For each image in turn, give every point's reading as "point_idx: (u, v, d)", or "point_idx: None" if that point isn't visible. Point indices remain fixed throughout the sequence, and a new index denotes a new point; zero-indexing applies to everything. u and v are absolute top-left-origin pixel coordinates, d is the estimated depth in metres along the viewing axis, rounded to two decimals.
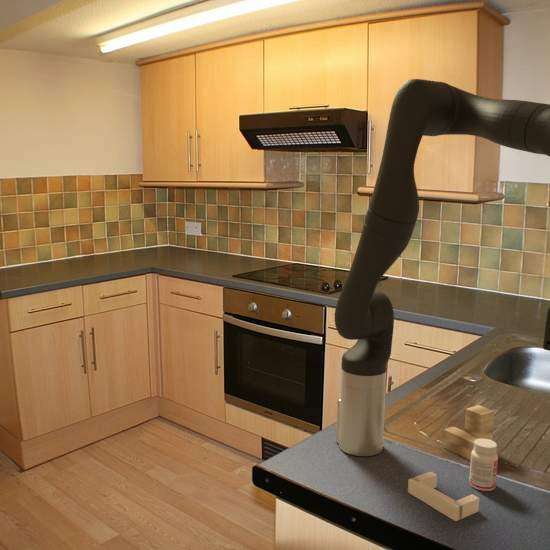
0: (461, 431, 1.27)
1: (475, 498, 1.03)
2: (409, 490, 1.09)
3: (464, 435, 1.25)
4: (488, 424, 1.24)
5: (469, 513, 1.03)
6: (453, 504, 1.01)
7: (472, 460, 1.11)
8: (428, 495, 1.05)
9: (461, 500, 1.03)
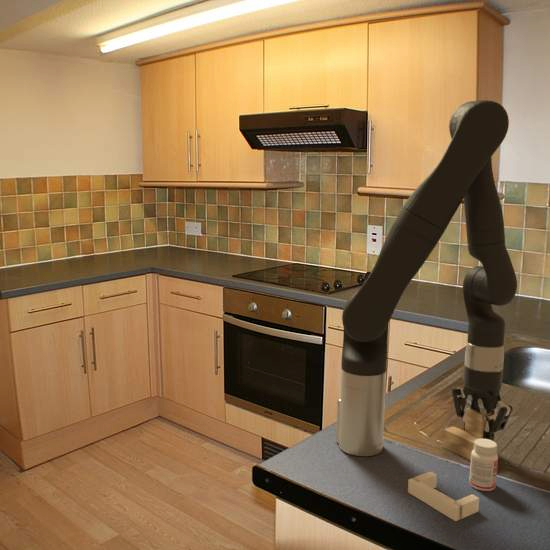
0: (461, 431, 1.27)
1: (475, 498, 1.03)
2: (409, 490, 1.09)
3: (464, 435, 1.25)
4: None
5: (469, 513, 1.03)
6: (453, 504, 1.01)
7: (472, 460, 1.11)
8: (428, 495, 1.05)
9: (461, 500, 1.03)
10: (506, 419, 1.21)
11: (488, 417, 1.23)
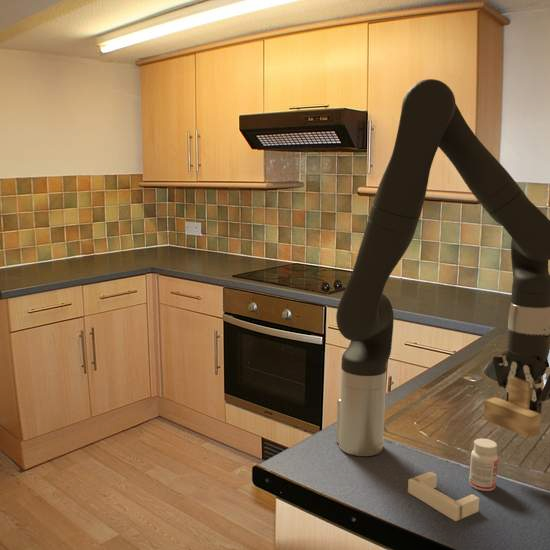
0: (504, 401, 1.16)
1: (475, 498, 1.03)
2: (409, 490, 1.09)
3: (508, 405, 1.14)
4: None
5: (469, 513, 1.03)
6: (453, 504, 1.01)
7: (472, 460, 1.11)
8: (428, 495, 1.05)
9: (461, 500, 1.03)
10: None
11: (535, 385, 1.12)
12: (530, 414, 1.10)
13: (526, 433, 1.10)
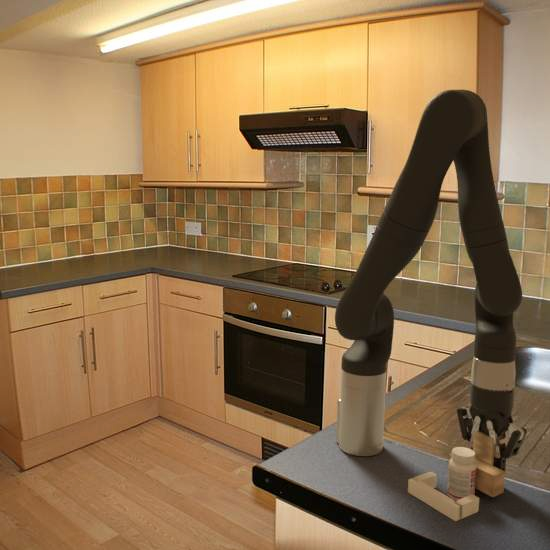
0: None
1: (475, 498, 1.03)
2: (409, 490, 1.09)
3: None
4: None
5: (469, 513, 1.03)
6: (453, 504, 1.01)
7: (449, 469, 1.08)
8: (428, 495, 1.05)
9: (461, 500, 1.03)
10: (519, 444, 1.07)
11: (499, 441, 1.08)
12: (494, 472, 1.06)
13: (490, 492, 1.06)
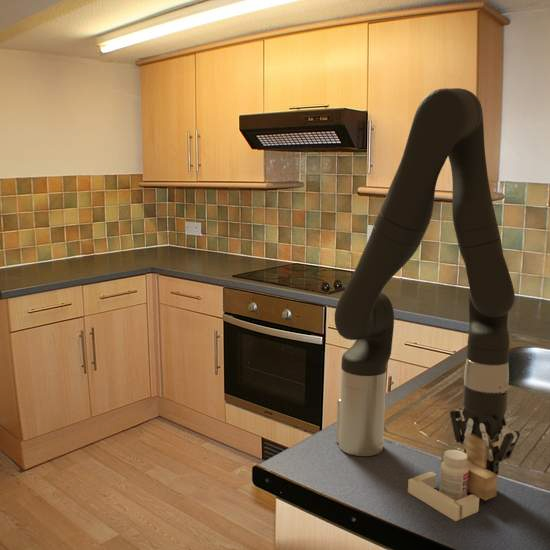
0: None
1: (475, 498, 1.03)
2: (409, 490, 1.09)
3: None
4: None
5: (469, 513, 1.03)
6: (453, 504, 1.01)
7: (441, 472, 1.07)
8: (428, 495, 1.05)
9: (461, 500, 1.03)
10: (512, 447, 1.05)
11: (492, 444, 1.07)
12: (486, 475, 1.05)
13: (482, 495, 1.05)
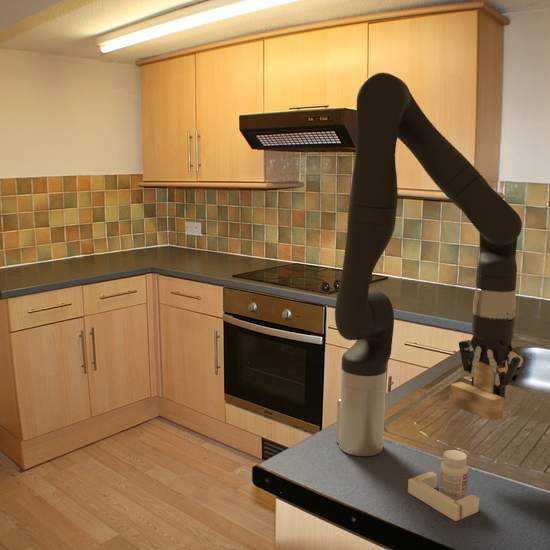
0: (469, 386, 1.16)
1: (475, 498, 1.03)
2: (409, 490, 1.09)
3: (473, 389, 1.14)
4: None
5: (469, 513, 1.03)
6: (453, 504, 1.01)
7: (441, 472, 1.07)
8: (428, 495, 1.05)
9: (461, 500, 1.03)
10: (518, 371, 1.10)
11: (499, 369, 1.12)
12: (493, 398, 1.10)
13: (489, 417, 1.10)
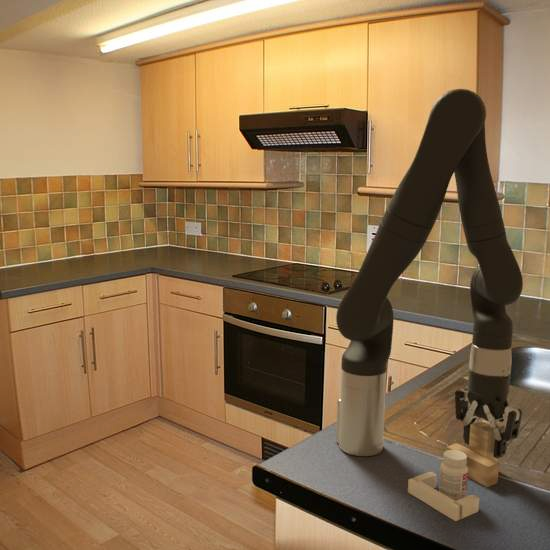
0: (465, 448, 1.19)
1: (475, 498, 1.03)
2: (409, 490, 1.09)
3: (468, 453, 1.17)
4: None
5: (469, 513, 1.03)
6: (453, 504, 1.01)
7: (441, 472, 1.07)
8: (428, 495, 1.05)
9: (461, 500, 1.03)
10: (517, 425, 1.11)
11: (497, 424, 1.14)
12: (488, 464, 1.12)
13: (484, 482, 1.12)
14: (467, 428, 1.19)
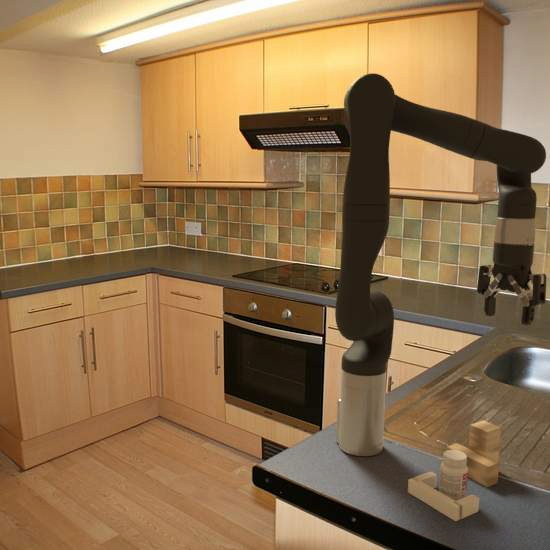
0: (465, 448, 1.19)
1: (475, 498, 1.03)
2: (409, 490, 1.09)
3: (468, 453, 1.17)
4: (494, 441, 1.16)
5: (469, 513, 1.03)
6: (453, 504, 1.01)
7: (441, 472, 1.07)
8: (428, 495, 1.05)
9: (461, 500, 1.03)
10: (543, 288, 1.16)
11: (524, 291, 1.18)
12: (488, 464, 1.12)
13: (484, 482, 1.12)
14: (488, 300, 1.25)
